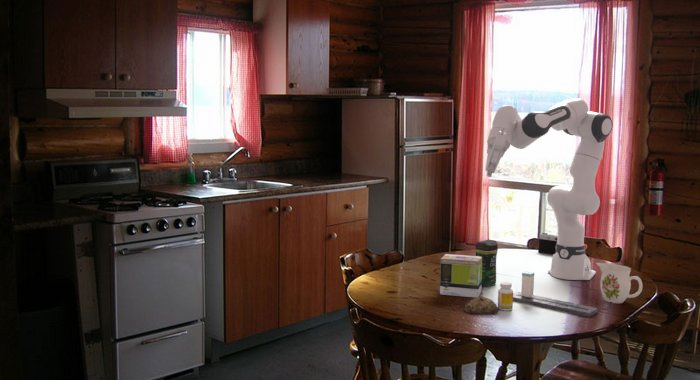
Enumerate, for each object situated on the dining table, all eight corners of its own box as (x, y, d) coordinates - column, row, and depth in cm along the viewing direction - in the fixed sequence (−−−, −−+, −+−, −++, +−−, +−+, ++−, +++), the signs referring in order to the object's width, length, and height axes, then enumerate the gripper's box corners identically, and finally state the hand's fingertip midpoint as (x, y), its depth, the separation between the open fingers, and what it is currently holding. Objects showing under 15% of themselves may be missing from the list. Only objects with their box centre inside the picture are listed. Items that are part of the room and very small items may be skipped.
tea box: (481, 292, 290) (483, 255, 288) (477, 298, 280) (479, 261, 278) (444, 288, 295) (445, 252, 293) (439, 294, 285) (440, 257, 283)
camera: (571, 254, 361) (572, 234, 360) (562, 257, 354) (564, 237, 353) (546, 250, 370) (547, 230, 369) (537, 252, 364) (538, 233, 363)
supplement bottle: (494, 308, 269) (495, 282, 267) (505, 306, 271) (505, 280, 270) (505, 311, 264) (506, 285, 263) (515, 309, 267) (516, 283, 266)
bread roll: (498, 316, 260) (498, 303, 259) (463, 314, 262) (463, 300, 261) (497, 306, 272) (498, 293, 271) (464, 304, 274) (464, 291, 274)
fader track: (517, 295, 286) (517, 291, 286) (597, 312, 265) (597, 308, 265) (507, 299, 280) (507, 295, 280) (588, 317, 259) (589, 312, 259)
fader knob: (524, 294, 281) (526, 271, 280) (533, 295, 279) (534, 272, 278) (521, 295, 279) (522, 272, 278) (529, 297, 276) (530, 274, 275)
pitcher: (636, 309, 270) (638, 273, 268) (588, 300, 281) (590, 265, 279) (645, 302, 279) (648, 267, 277) (598, 294, 290) (600, 260, 288)
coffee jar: (486, 288, 296) (488, 243, 293) (470, 284, 301) (472, 240, 299) (499, 284, 303) (501, 240, 300) (483, 280, 308) (484, 237, 306)
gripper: (512, 127, 272) (504, 156, 266) (502, 156, 290) (494, 185, 283) (496, 122, 273) (488, 151, 267) (486, 152, 291) (478, 180, 284)
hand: (491, 169), depth 275 cm, fingers open, 8 cm apart
